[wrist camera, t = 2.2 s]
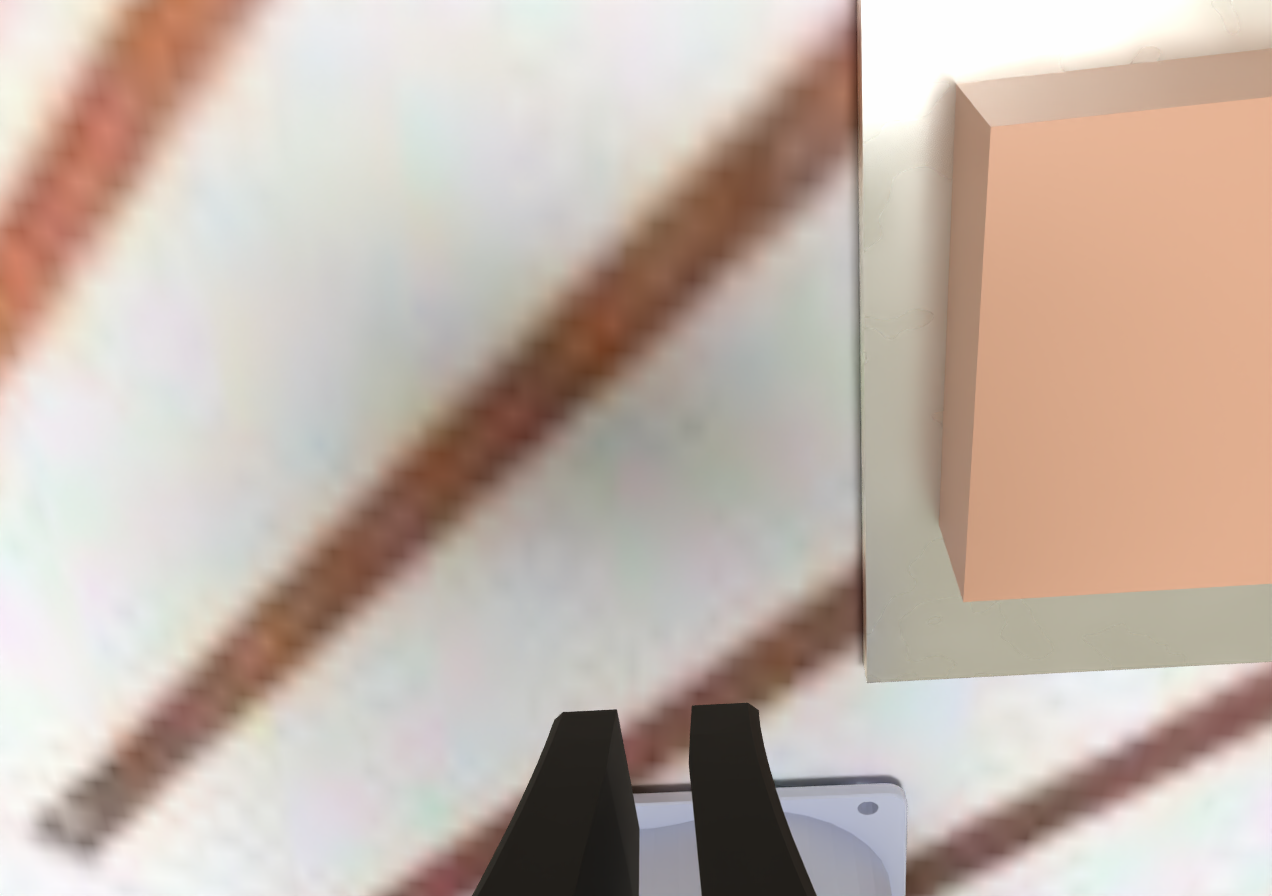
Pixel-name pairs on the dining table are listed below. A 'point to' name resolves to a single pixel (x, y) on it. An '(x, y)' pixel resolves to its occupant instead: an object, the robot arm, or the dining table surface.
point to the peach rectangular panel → (1110, 331)
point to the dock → (916, 341)
